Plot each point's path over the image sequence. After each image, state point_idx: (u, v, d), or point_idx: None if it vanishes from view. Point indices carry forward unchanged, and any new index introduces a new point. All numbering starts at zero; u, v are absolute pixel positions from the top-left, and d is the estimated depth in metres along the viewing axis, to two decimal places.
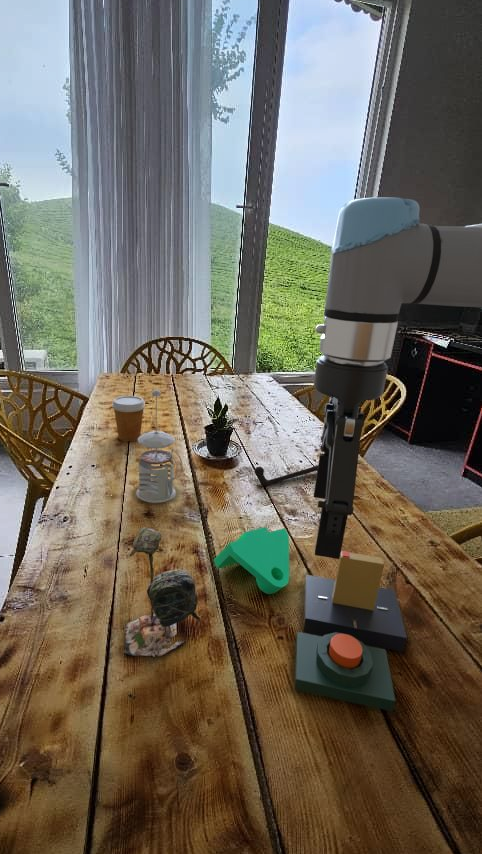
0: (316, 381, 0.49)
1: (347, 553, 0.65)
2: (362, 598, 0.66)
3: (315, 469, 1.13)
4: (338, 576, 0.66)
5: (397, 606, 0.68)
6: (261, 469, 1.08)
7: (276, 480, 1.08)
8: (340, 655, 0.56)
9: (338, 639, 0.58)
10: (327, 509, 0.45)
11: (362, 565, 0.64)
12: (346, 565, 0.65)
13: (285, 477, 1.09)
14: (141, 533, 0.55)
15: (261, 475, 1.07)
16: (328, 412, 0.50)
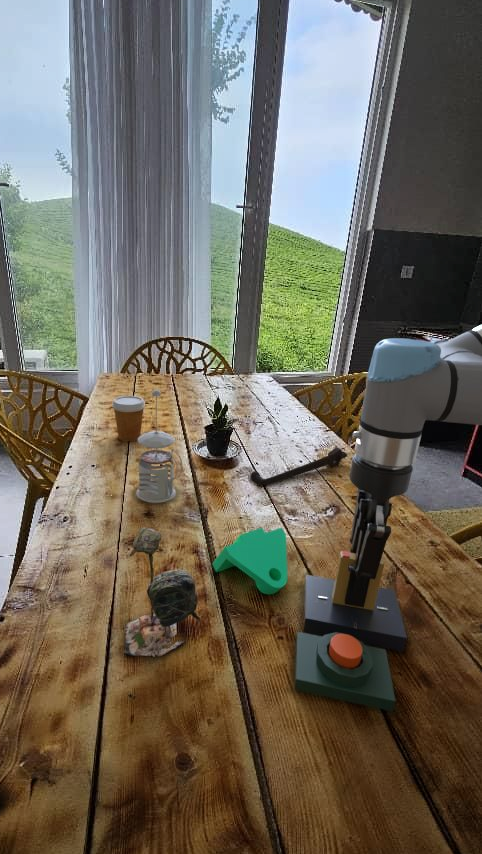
0: (352, 476, 0.59)
1: (347, 553, 0.65)
2: None
3: (311, 465, 1.15)
4: (338, 576, 0.66)
5: (397, 606, 0.68)
6: (256, 472, 1.10)
7: (274, 478, 1.09)
8: (340, 655, 0.56)
9: (338, 639, 0.58)
10: (357, 576, 0.61)
11: None
12: (346, 565, 0.65)
13: (282, 474, 1.10)
14: (141, 533, 0.55)
15: (257, 477, 1.09)
16: (362, 504, 0.60)
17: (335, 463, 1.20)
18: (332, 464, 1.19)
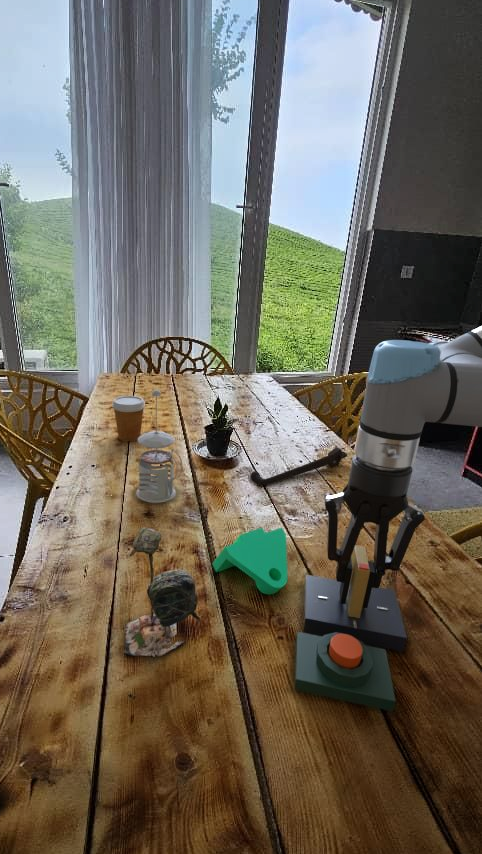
0: (392, 491, 0.56)
1: (363, 564, 0.63)
2: None
3: (311, 465, 1.15)
4: (365, 590, 0.63)
5: (397, 606, 0.68)
6: (256, 472, 1.10)
7: (274, 478, 1.09)
8: (340, 655, 0.56)
9: (338, 639, 0.58)
10: None
11: None
12: None
13: (282, 474, 1.10)
14: (141, 533, 0.55)
15: (257, 477, 1.09)
16: (390, 509, 0.59)
17: (335, 463, 1.20)
18: (332, 464, 1.19)
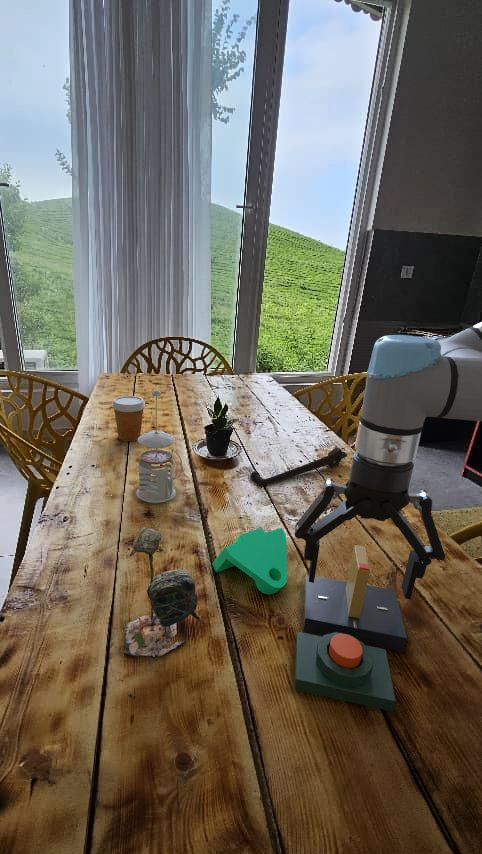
0: (394, 487, 0.56)
1: (363, 564, 0.63)
2: None
3: (311, 465, 1.15)
4: (365, 590, 0.63)
5: (397, 606, 0.68)
6: (256, 472, 1.10)
7: (274, 478, 1.09)
8: (340, 655, 0.56)
9: (338, 639, 0.58)
10: (444, 557, 0.61)
11: None
12: None
13: (282, 474, 1.10)
14: (141, 533, 0.55)
15: (257, 477, 1.09)
16: (390, 503, 0.59)
17: (335, 463, 1.20)
18: (332, 464, 1.19)
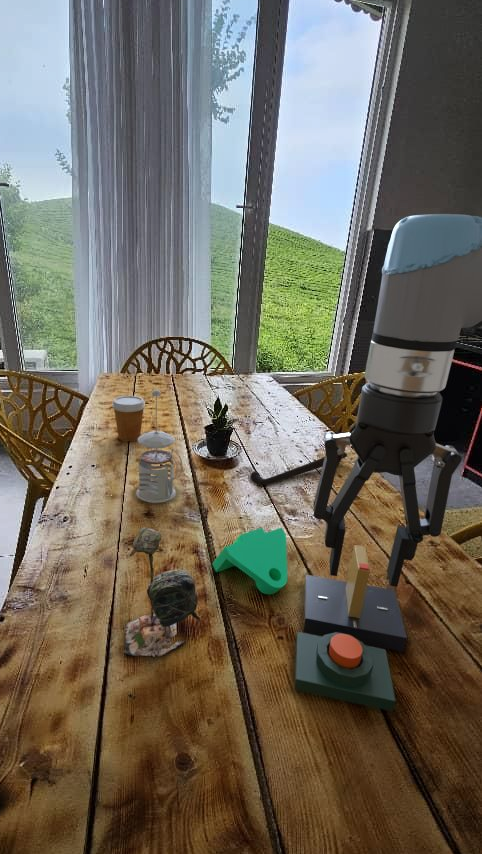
0: (417, 424, 0.42)
1: (363, 564, 0.63)
2: None
3: (311, 465, 1.15)
4: (365, 590, 0.63)
5: (397, 606, 0.68)
6: (256, 472, 1.10)
7: (274, 478, 1.09)
8: (340, 655, 0.56)
9: (338, 639, 0.58)
10: (439, 534, 0.48)
11: None
12: None
13: (282, 474, 1.10)
14: (141, 533, 0.55)
15: (257, 477, 1.09)
16: (411, 452, 0.45)
17: None
18: None
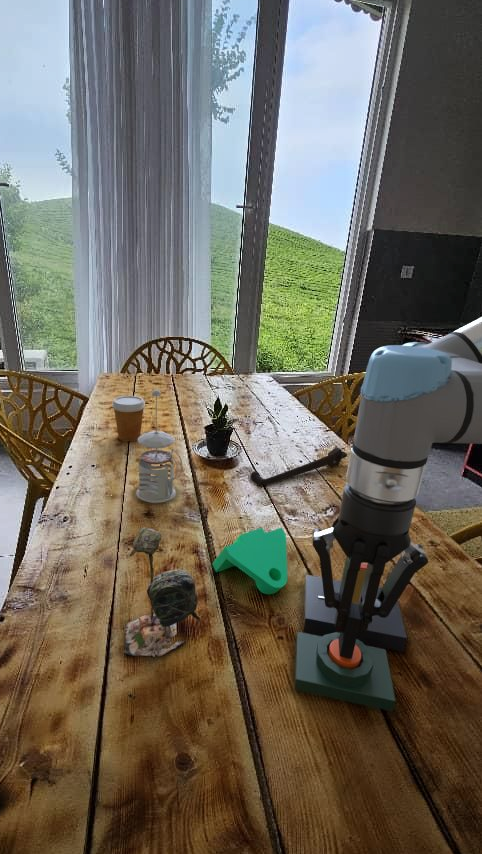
0: (392, 529, 0.46)
1: (363, 564, 0.63)
2: None
3: (311, 465, 1.15)
4: None
5: (397, 606, 0.68)
6: (256, 472, 1.10)
7: (274, 478, 1.09)
8: (339, 660, 0.56)
9: (337, 644, 0.59)
10: (386, 616, 0.53)
11: None
12: None
13: (282, 474, 1.10)
14: (141, 533, 0.55)
15: (257, 477, 1.09)
16: (388, 549, 0.49)
17: (335, 463, 1.20)
18: (332, 464, 1.19)
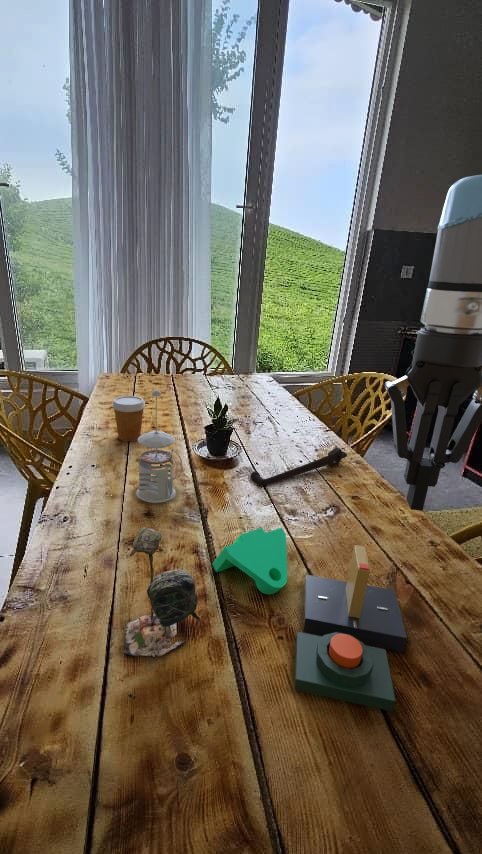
0: (471, 358, 0.49)
1: (363, 564, 0.63)
2: None
3: (311, 465, 1.15)
4: (365, 590, 0.63)
5: (397, 606, 0.68)
6: (256, 472, 1.10)
7: (274, 478, 1.09)
8: (340, 655, 0.56)
9: (338, 639, 0.58)
10: (457, 461, 0.56)
11: None
12: None
13: (282, 474, 1.10)
14: (141, 533, 0.55)
15: (257, 477, 1.09)
16: (464, 386, 0.52)
17: (335, 463, 1.20)
18: (332, 464, 1.19)
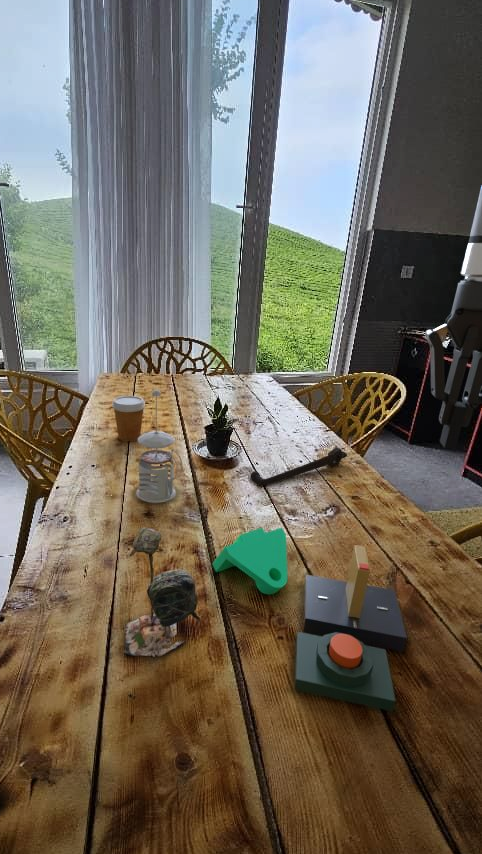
0: None
1: (363, 564, 0.63)
2: None
3: (311, 465, 1.15)
4: (365, 590, 0.63)
5: (397, 606, 0.68)
6: (256, 472, 1.10)
7: (274, 478, 1.09)
8: (340, 655, 0.56)
9: (338, 639, 0.58)
10: None
11: None
12: None
13: (282, 474, 1.10)
14: (141, 533, 0.55)
15: (257, 477, 1.09)
16: None
17: (335, 463, 1.20)
18: (332, 464, 1.19)
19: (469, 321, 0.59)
